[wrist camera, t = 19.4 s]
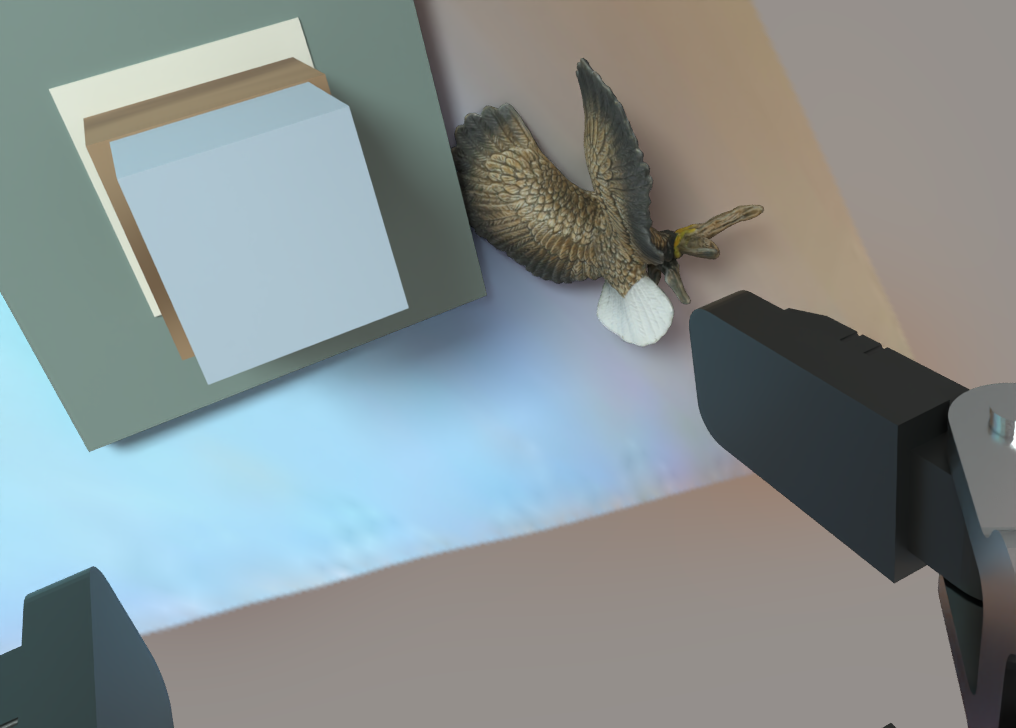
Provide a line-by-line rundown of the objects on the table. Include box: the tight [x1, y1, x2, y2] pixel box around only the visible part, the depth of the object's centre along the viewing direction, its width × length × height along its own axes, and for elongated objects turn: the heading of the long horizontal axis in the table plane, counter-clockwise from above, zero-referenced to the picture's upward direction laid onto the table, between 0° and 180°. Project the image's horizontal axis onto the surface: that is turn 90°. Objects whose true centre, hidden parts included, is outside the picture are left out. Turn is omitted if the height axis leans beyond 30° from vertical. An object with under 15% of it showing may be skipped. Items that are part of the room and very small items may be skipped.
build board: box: [0, 0, 487, 452], centre depth 27 cm, size 14×14×1 cm
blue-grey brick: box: [110, 82, 409, 385], centre depth 22 cm, size 5×5×4 cm
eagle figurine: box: [451, 58, 764, 347], centre depth 31 cm, size 8×7×9 cm
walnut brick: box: [83, 57, 332, 361], centre depth 25 cm, size 6×6×4 cm
